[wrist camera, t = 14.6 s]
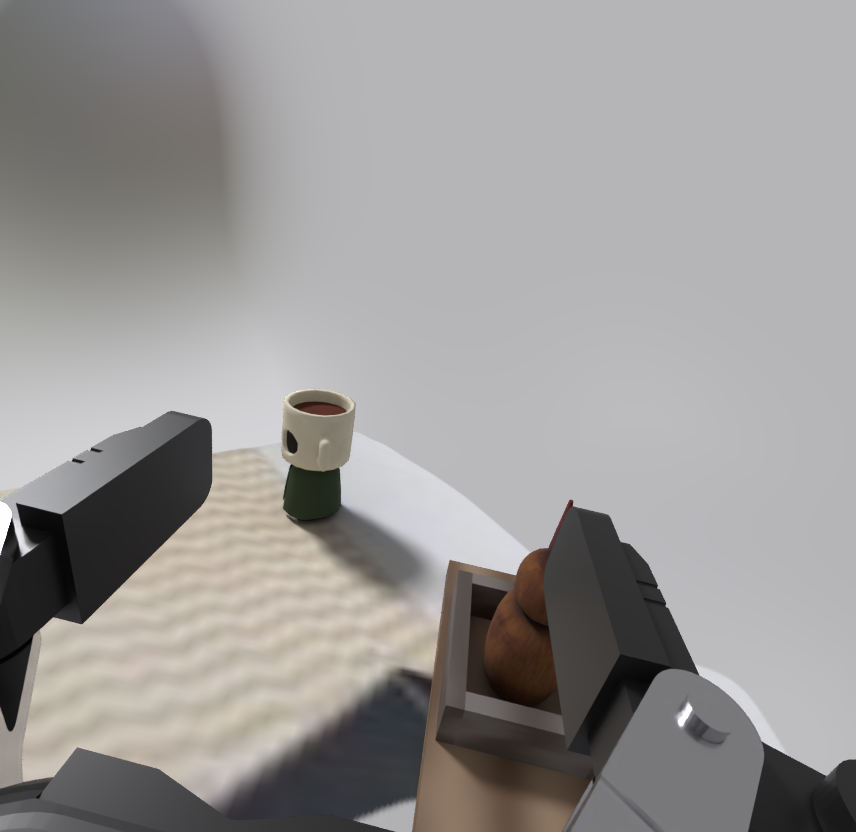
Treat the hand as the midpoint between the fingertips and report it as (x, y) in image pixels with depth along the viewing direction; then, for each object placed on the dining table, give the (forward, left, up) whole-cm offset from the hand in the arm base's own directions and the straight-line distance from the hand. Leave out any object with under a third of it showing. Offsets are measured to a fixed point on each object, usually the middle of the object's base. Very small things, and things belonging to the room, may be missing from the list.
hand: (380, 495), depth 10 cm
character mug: (-12, +32, -26) cm, 43 cm away
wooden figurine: (+10, +16, -25) cm, 31 cm away
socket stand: (+10, +16, -26) cm, 32 cm away
